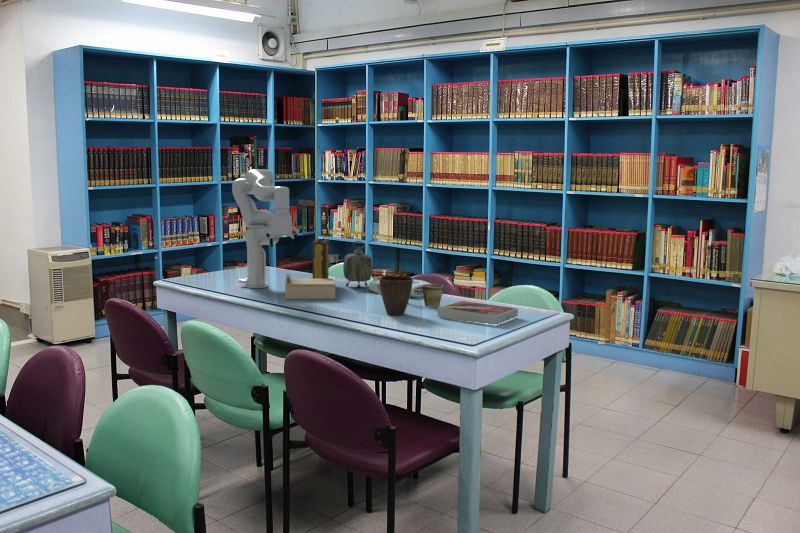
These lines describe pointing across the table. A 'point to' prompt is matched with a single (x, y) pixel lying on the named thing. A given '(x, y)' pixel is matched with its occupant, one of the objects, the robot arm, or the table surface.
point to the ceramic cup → (432, 295)
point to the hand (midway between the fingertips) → (281, 246)
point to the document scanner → (416, 283)
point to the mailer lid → (308, 281)
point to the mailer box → (309, 292)
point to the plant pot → (395, 293)
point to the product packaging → (477, 312)
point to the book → (321, 258)
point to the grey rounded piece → (357, 266)
